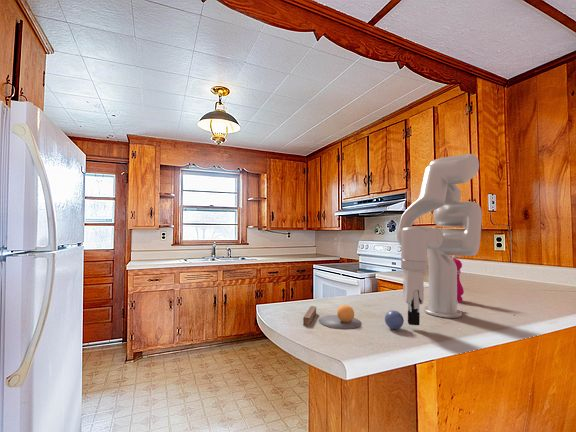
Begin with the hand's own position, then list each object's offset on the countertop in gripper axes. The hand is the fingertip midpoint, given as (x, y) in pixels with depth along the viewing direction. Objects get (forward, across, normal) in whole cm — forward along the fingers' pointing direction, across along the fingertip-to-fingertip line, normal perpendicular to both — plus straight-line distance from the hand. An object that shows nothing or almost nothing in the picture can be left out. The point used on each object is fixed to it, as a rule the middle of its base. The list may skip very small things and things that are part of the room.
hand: (413, 324), depth 94 cm
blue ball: (-1, +2, -6) cm, 6 cm away
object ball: (-1, 0, -21) cm, 21 cm away
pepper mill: (+2, -45, +24) cm, 51 cm away
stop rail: (+2, 0, -33) cm, 33 cm away
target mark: (+2, 0, -23) cm, 23 cm away
